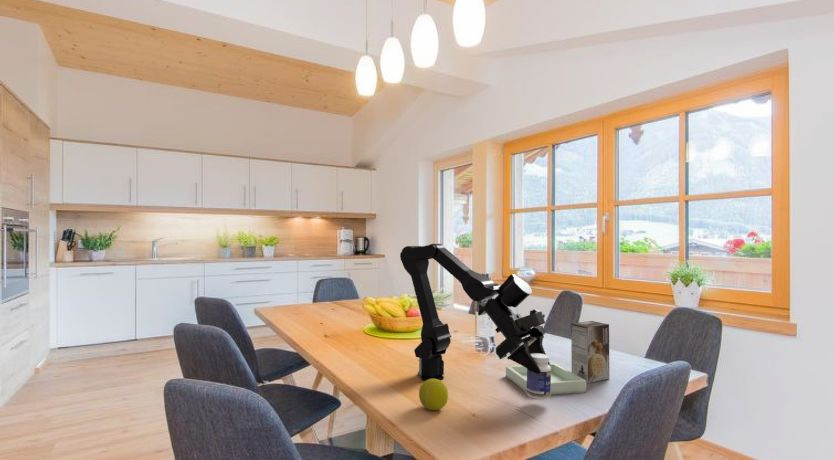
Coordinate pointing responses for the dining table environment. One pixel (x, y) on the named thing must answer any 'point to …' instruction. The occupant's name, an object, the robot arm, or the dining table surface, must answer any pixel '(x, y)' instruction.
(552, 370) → the tray
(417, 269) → the robot arm
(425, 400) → the tennis ball
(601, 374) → the coffee box
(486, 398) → the dining table surface
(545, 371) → the pill bottle
